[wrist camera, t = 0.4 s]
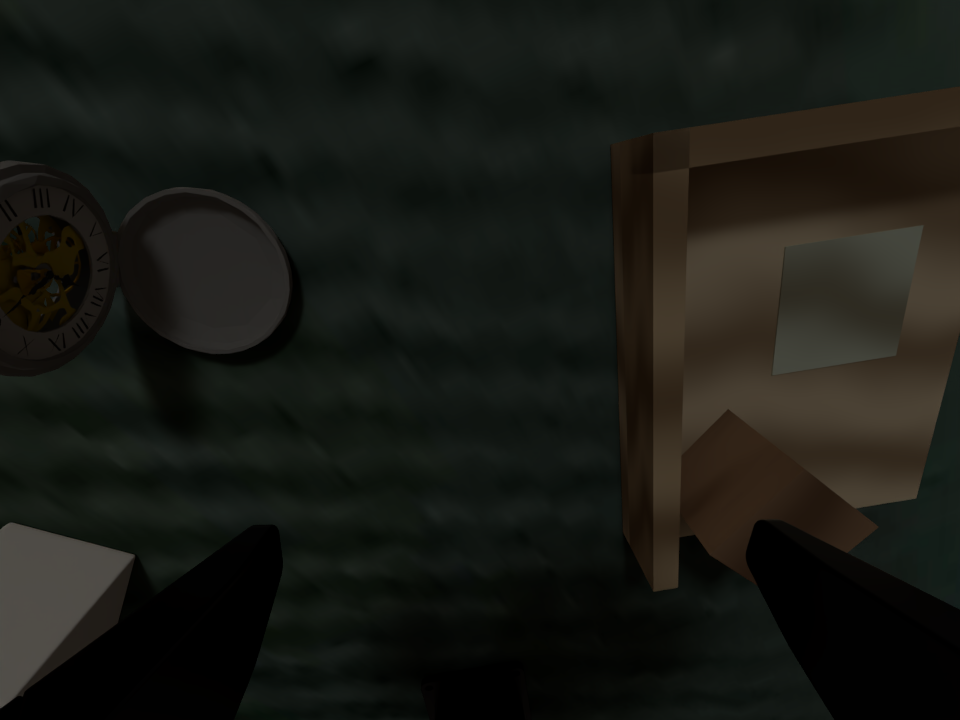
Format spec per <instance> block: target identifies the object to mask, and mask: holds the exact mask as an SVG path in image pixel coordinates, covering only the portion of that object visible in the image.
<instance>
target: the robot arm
mask: <svg viewBox="0 0 960 720" xmlns="http://www.w3.org/2000/svg"><path fill="white" fill-rule="evenodd" d="M746 562H747V565H748V568H749V570H750V572H751V574H752V576H753V577H754V579H755V581H756V583H757V585H758V587H759V589H760V591H761V593H762V595H763V597H764V599H765V601H766V603H767V605H768V607H769V609H770V611H771V613H772V615H773V617H774V618H775V620H776V622H777V624H778V626H779V628H780V630H781V632H782V634H783V636H784V638H785V640H786V641H787V643H788V645H789V647H790V649H791V650H792V652H793V654H794V655H795V657H796V659H797V660H798V662H799V664H800V665H801V667H802V668H803V670H804V672H805V673H806V675H807V676H808V678H809V680H810V681H811V683H812V685H813V686H814V688H815V689H816V691H817V693H818V694H819V696H820V697H821V699H822V701H823V702H824V704H825V705H826V707H827V709H828V710H829V712H830V713H831V715H832V717H833V718H834V720H960V610H959V609H957V608H955V607H953V606H951V605H949V604H947V603H945V602H944V601H942V600H940V599H938V598H936V597H934V596H932V595H930V594H928V593H926V592H924V591H922V590H920V589H918V588H916V587H914V586H912V585H910V584H908V583H906V582H904V581H902V580H900V579H898V578H896V577H894V576H892V575H890V574H888V573H886V572H884V571H882V570H880V569H878V568H876V567H874V566H872V565H870V564H868V563H866V562H864V561H862V560H860V559H858V558H856V557H854V556H852V555H850V554H848V553H846V552H844V551H842V550H840V549H838V548H836V547H834V546H832V545H830V544H828V543H826V542H824V541H822V540H820V539H818V538H816V537H814V536H813V535H811V534H809V533H807V532H805V531H803V530H801V529H799V528H797V527H795V526H793V525H791V524H789V523H787V522H785V521H782V520H779V519H761V520H758V521H757V522H756V523H755V524H754V527H753V530H752V533H751V536H750V540H749V543H748V546H747V549H746ZM282 569H283V558H282V550H281V543H280V535H279V530H278V528H277V527H276V526H275V525H253V526H251V527H249V528H248V529H246V530H245V531H243V532H242V533H241V534H239V535H238V536H237V537H235V538H234V539H232V540H231V541H230V542H228V543H227V544H226V545H224V546H223V547H222V548H220V549H219V550H217V551H216V552H215V553H213V554H212V555H211V556H209V557H208V558H206V559H205V560H204V561H202V562H201V563H200V564H198V565H197V566H195V567H194V568H193V569H191V570H190V571H189V572H187V573H186V574H184V575H183V576H182V577H180V578H179V579H178V580H176V581H175V582H173V583H172V584H171V585H169V586H168V587H167V588H165V589H164V590H163V591H161V592H160V593H158V594H157V595H156V596H154V597H153V598H152V599H150V600H149V601H147V602H146V603H145V604H143V605H142V606H141V607H139V608H138V609H136V610H135V611H134V612H132V613H131V614H130V615H128V616H127V617H125V618H124V619H123V620H121V621H120V622H119V623H117V624H116V625H114V626H113V627H112V628H110V629H109V630H108V631H106V632H105V633H104V634H102V635H101V636H99V637H98V638H97V639H95V640H94V641H93V642H91V643H90V644H88V645H87V646H86V647H84V648H83V649H82V650H80V651H79V652H77V653H76V654H75V655H73V656H72V657H71V658H69V659H68V660H66V661H65V662H64V663H62V664H61V665H60V666H58V667H57V668H55V669H54V670H53V671H51V672H50V673H49V674H47V675H46V676H44V677H43V678H42V679H40V680H39V681H38V682H36V683H35V684H34V685H32V686H31V687H29V688H28V689H27V690H26V691H25V692H24V694H23V696H17V697H15V698H14V699H13V700H11V701H10V702H9V703H7V704H6V705H4V706H3V707H2V708H0V720H234V718H235V715H236V713H237V710H238V708H239V705H240V703H241V700H242V698H243V695H244V693H245V690H246V688H247V685H248V683H249V680H250V678H251V675H252V672H253V670H254V667H255V664H256V661H257V658H258V654H259V651H260V648H261V644H262V641H263V637H264V634H265V630H266V627H267V624H268V620H269V617H270V613H271V610H272V606H273V603H274V599H275V596H276V592H277V589H278V585H279V582H280V578H281V575H282ZM421 690H422V694H423V697H424V701H425V704H426V708H427V711H428V715H429V718H430V720H531V713H530V707H529V700H528V694H527V688H526V681H525V675H524V669H523V665H522V664H521V663H520V662H511V663H505V664H499V665H493V666H487V667H481V668H475V669H469V670H463V671H457V672H451V673H445V674H439V675H434V676H428V677H425V678H423V679H422V683H421Z"/></svg>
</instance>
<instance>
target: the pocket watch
mask: <svg viewBox="0 0 960 720" xmlns="http://www.w3.org/2000/svg"><path fill="white" fill-rule="evenodd" d="M31 217H38V218H39V219H40V224H39V229H38V240H37V237H36V236H37V235H36V233H35V230H34V229H32V228H33V227H32V226H31V227H32V228H31V227H30V226H29V225H27V224H28V223H27V224H26V223H25V222H24V221H25V220H26V219H28V218H31ZM25 226H28V228H27V230H26V227H25ZM15 227H17V230H18V234H19V235H18V234H17V233H16V232H15V231H14V230H13V229H14V228H15ZM31 229H32V231H33V232H34V234H35V240H34V241H35V242H32V243H31V244H30V241H29V238H28V234H29V232H30V231H31ZM46 231H48V232H49V233H53V235H54V236H51V237H49V238H47V239H46V240H44V234H45V232H46ZM10 232H11V233H12V234H13V235H14V236H16V237H17V239H16V240H14V238H11V237H10ZM11 240H12V242H11ZM49 240H52V242H51V249H50V251H48V248H47V247H48V246H46V242H47V241H49ZM3 241H4V242H6V243H7V244H8V245H5V246H2V245H1V243H2V242H3ZM57 243H58V246H59V247H58V248H57V246H56V244H57ZM14 249H15V250H14ZM21 249H22V250H23V251H24V253H22V252H21ZM18 250H20V254H17V252H18ZM11 252H12V256H13V257H12V256H11V255H10V253H11ZM53 278H54V280H55V281H56V282H57V284H58V285H59V287H58V291H57V293H55V294H51V293H49V292H47V290H46V288H48V287H50V285H51V282H53V281H52V279H53ZM49 281H50V282H49ZM47 282H48V283H47ZM46 283H47V284H46ZM45 284H46V285H45ZM44 285H45V286H44ZM116 287H121V289H122V292H123V294H124V295H125V297H126V299H127V300H128V302H129V303H130V305H131V306H132V308H133V309H134V311H135V312H136V314H137V315H138V316H139V317H140V318H141V319H142V320H143V321H144V322H145V323H146V324H147V325H148V326H149V327H151V328H152V329H153V330H154V331H156V332H157V333H158V334H159V335H161V336H162V337H164V338H166V339H168V340H170V341H172V342H174V343H176V344H178V345H180V346H182V347H184V348H187V349H191V350H195V351H199V352H204V353H210V354H229V353H234V352H239V351H244V350H246V349H248V348H250V347H253V346H255V345H257V344H259V343H260V342H262V341H264V340H265V339H267V338H268V337H269V336H270V335H271V334H272V333H273V332H274V330H275V329H276V328H277V327H278V326H279V324H280V323H281V322H282V321H283V319H284V318H285V317H286V314H287V310H288V308H289V305H290V302H291V296H292V288H293V282H292V270H291V267H290V263H289V260H288V257H287V254H286V251H285V249H284V247H283V246H282V244H281V242H280V241H279V239H278V238H277V236H276V234H275V233H274V231H273V229H272V228H271V227H270V226H269V225H268V224H267V223H266V222H265V221H264V220H263V219H262V218H261V217H260V216H259V215H258V214H257V213H256V212H255V211H253V210H252V209H250V208H249V207H247V206H246V205H245V204H243V203H242V202H240V201H238V200H236V199H234V198H231V197H229V196H227V195H225V194H222V193H219V192H216V191H214V190H209V189H199V188H189V187H177V188H171V189H166V190H163V191H160V192H158V193H155V194H153V195H150V196H148V197H145V198H144V199H143V200H142V201H140V202H139V203H138V204H137V205H136V206H135V207H133V208H132V209H131V210H130V211H129V212H128V214H127V215H126V217H125V218H124V220H123V222H122V223H121V226H120V228H119V230H118V232H116V231H112V229H111V227H110V225H109V222H108V220H107V218H106V215H105V213H104V211H103V209H102V208H101V206H100V205H99V204H98V202H97V201H96V200H95V198H94V197H93V196H92V194H91V193H90V191H89V190H88V189H87V188H86V187H84V186H83V185H82V184H81V183H79V182H78V181H77V180H76V179H74V178H73V177H72V176H70V175H68V174H66V173H63V172H61V171H59V170H56V169H54V168H52V167H49V166H47V165H43V164H35V163H27V162H18V161H9V160H8V161H4V162H0V375H4V376H36V375H39V374H42V373H46V372H49V371H52V370H56V369H58V368H60V367H61V366H63V365H64V364H66V363H68V362H69V361H71V360H72V359H74V358H75V357H76V356H77V355H78V354H79V353H80V352H81V351H82V350H83V349H84V348H85V347H86V346H87V345H88V344H89V343H91V342H92V341H93V339H94V337H95V336H96V334H97V332H98V331H99V329H100V328H101V327H102V325H103V323H104V321H105V319H106V317H107V315H108V313H109V311H110V308H111V305H112V301H113V297H114V293H115V290H116ZM50 296H52V297H54V298H53V299H51V298H50ZM45 298H46V302H47V307H46V306H45V305H44V300H45Z"/></svg>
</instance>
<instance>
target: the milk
mask: <svg viewBox="0 0 960 720" xmlns="http://www.w3.org/2000/svg"><path fill="white" fill-rule="evenodd" d="M134 560H135V555H134V554H130V553H126V552H123V551H119V550H115V549H111V548H107V547H104V546H100V545H96V544H92V543H88V542H85V541H81V540H77V539H73V538H69V537H66V536H62V535H58V534H54V533H50V532H47V531H43V530H39V529H35V528H31V527H28V526H24V525H20V524H16V523H9V524H7V525H6V526H4V527H3V528H2V529H0V708H2V707H3V706H4V705H6V704H7V703H9V702H10V701H11V700H13V699H14V698H15V697H17V696H23V694H24V692H25V691H26V690H27V689H28V688H29V687H31V686H32V685H34V684H35V683H36V682H38V681H39V680H40V679H42V678H43V677H44V676H46V675H47V674H49V673H50V672H51V671H53V670H54V669H55V668H57V667H58V666H60V665H61V664H62V663H64V662H65V661H66V660H68V659H69V658H71V657H72V656H73V655H75V654H76V653H77V652H79V651H80V650H82V649H83V648H84V647H86V646H87V645H88V644H90V643H91V642H93V641H94V640H95V639H97V638H98V637H99V636H101V635H102V634H104V633H105V632H106V631H108V630H109V629H110V628H112V627H113V626H114V625H116V624H117V623H118V620H119V616H120V613H121V609H122V605H123V601H124V598H125V594H126V590H127V586H128V583H129V579H130V575H131V571H132V567H133V564H134Z"/></svg>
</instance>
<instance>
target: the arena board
mask: <svg viewBox="0 0 960 720" xmlns="http://www.w3.org/2000/svg"><path fill="white" fill-rule="evenodd" d="M611 171H612V202H613V233H614V265H615V296H616V328H617V359H618V390H619V422H620V453H621V485H622V516H623V533H624V535H625V537H626V539H627V541H628V543H629V545H630V547H631V549H632V551H633V553H634V555H635V557H636V559H637V561H638V563H639V564H640V566H641V568H642V570H643V572H644V574H645V576H646V578H647V580H648V582H649V584H650V586H651V588H652V590H653V592H654V591H660V590H666V589H672V588H678V565H679V537H684V536H690V535H695V534H694V532H693V531H692V530H691V528H690V527H689V525H688V524H687V523H686V521H685V520H684V518H683V517H682V516H681V514H680V489H681V456H682V455H683V454H684V453H685V452H686V451H687V450H688V449H689V448H690V447H691V446H692V445H693V444H694V443H695V442H696V441H697V440H698V439H699V438H700V437H701V436H702V435H703V434H704V433H705V432H706V431H707V430H708V429H709V428H710V427H711V426H712V425H713V424H714V423H715V422H716V421H717V420H718V419H719V418H720V417H721V416H722V415H723V414H724V413H725V412H726V411H727V410H728V409H729V410H730V411H731V412H733V413H734V414H735V415H736V416H738V417H739V418H740V419H742V420H743V421H744V422H745V423H747V424H748V425H749V426H751V427H752V428H753V429H754V430H756V431H757V432H758V433H759V434H761V435H762V436H763V437H765V438H766V439H767V440H768V441H770V442H771V443H772V444H774V445H775V446H776V447H777V448H779V449H780V450H781V451H783V452H784V453H785V454H786V455H788V456H789V457H790V458H791V459H793V460H794V461H795V462H797V463H798V464H799V465H800V466H802V467H803V468H804V469H806V470H807V471H808V472H809V473H811V474H812V475H813V476H814V477H816V478H817V479H818V480H819V481H821V482H822V483H823V484H825V485H826V486H827V487H828V488H830V489H831V490H832V491H833V492H835V493H836V494H837V495H839V496H840V497H841V498H842V499H844V500H845V501H846V502H847V503H849V504H850V505H851V506H853V507H854V508H860V507H867V506H873V505H879V504H885V503H891V502H897V501H903V500H909V499H915V498H916V497H917V493H918V489H919V485H920V482H921V478H922V474H923V470H924V466H925V462H926V459H927V455H928V451H929V447H930V443H931V440H932V436H933V432H934V428H935V424H936V420H937V417H938V413H939V409H940V405H941V401H942V398H943V394H944V390H945V386H946V382H947V378H948V375H949V371H950V367H951V363H952V359H953V356H954V352H955V348H956V344H957V340H958V337H959V333H960V87H954V88H948V89H941V90H934V91H928V92H921V93H915V94H908V95H901V96H895V97H888V98H882V99H875V100H869V101H862V102H855V103H849V104H842V105H836V106H829V107H822V108H816V109H809V110H803V111H796V112H790V113H783V114H776V115H770V116H763V117H757V118H750V119H743V120H737V121H730V122H724V123H717V124H710V125H704V126H697V127H691V128H684V129H678V130H671V131H664V132H658V133H652V134H648V135H645V136H641V137H637V138H634V139H630V140H626V141H622V142H619V143H615V144H611Z"/></svg>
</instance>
